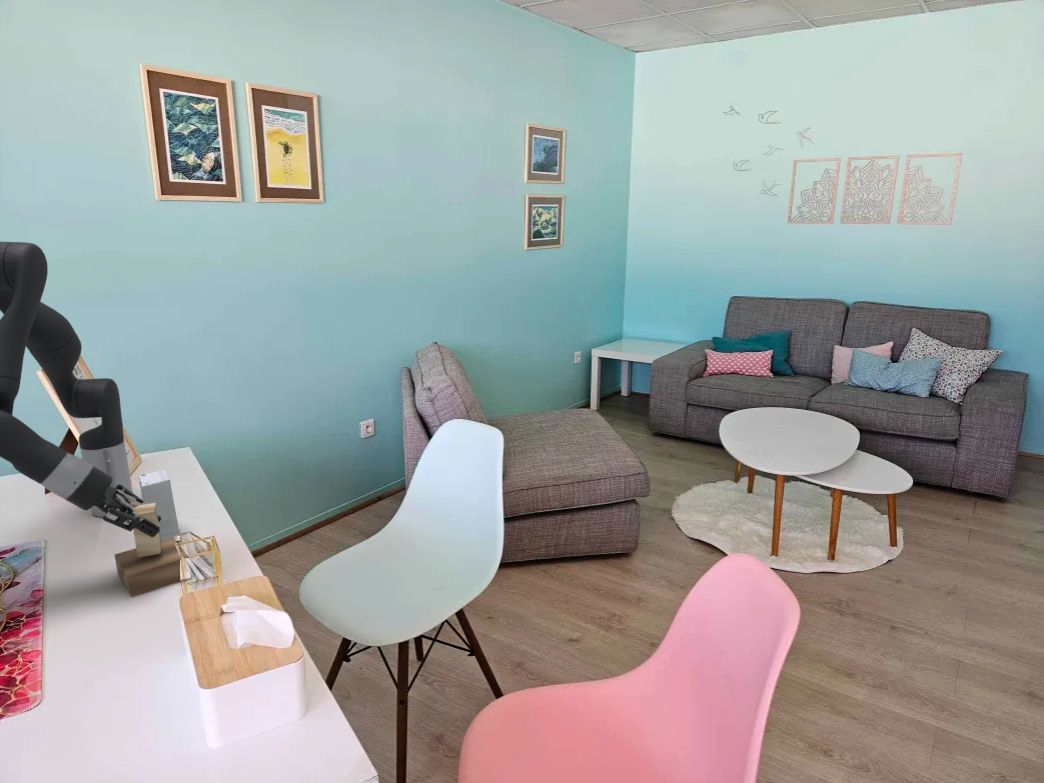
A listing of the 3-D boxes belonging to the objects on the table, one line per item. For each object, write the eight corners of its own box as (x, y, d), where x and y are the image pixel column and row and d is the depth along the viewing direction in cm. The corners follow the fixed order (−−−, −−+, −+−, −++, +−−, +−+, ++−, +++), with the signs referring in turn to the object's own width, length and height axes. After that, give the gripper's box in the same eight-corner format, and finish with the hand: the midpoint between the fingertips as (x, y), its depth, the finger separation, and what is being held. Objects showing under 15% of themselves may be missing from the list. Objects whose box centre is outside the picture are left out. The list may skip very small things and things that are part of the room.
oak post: (139, 547, 139) (133, 506, 137) (161, 543, 141) (155, 502, 138) (137, 557, 135) (130, 515, 133) (160, 553, 137) (154, 511, 134)
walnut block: (118, 576, 140) (114, 554, 139) (176, 558, 147) (173, 537, 146) (131, 599, 132) (127, 575, 131) (192, 579, 139) (188, 556, 138)
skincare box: (181, 541, 154) (172, 479, 150) (151, 548, 151) (141, 485, 147) (176, 527, 161) (167, 468, 157) (147, 534, 158) (137, 473, 154)
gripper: (85, 479, 124) (169, 527, 132) (96, 453, 136) (172, 499, 144) (56, 511, 123) (142, 558, 131) (69, 483, 136) (147, 527, 144)
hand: (157, 527), depth 138 cm, fingers closed on oak post, 4 cm apart
